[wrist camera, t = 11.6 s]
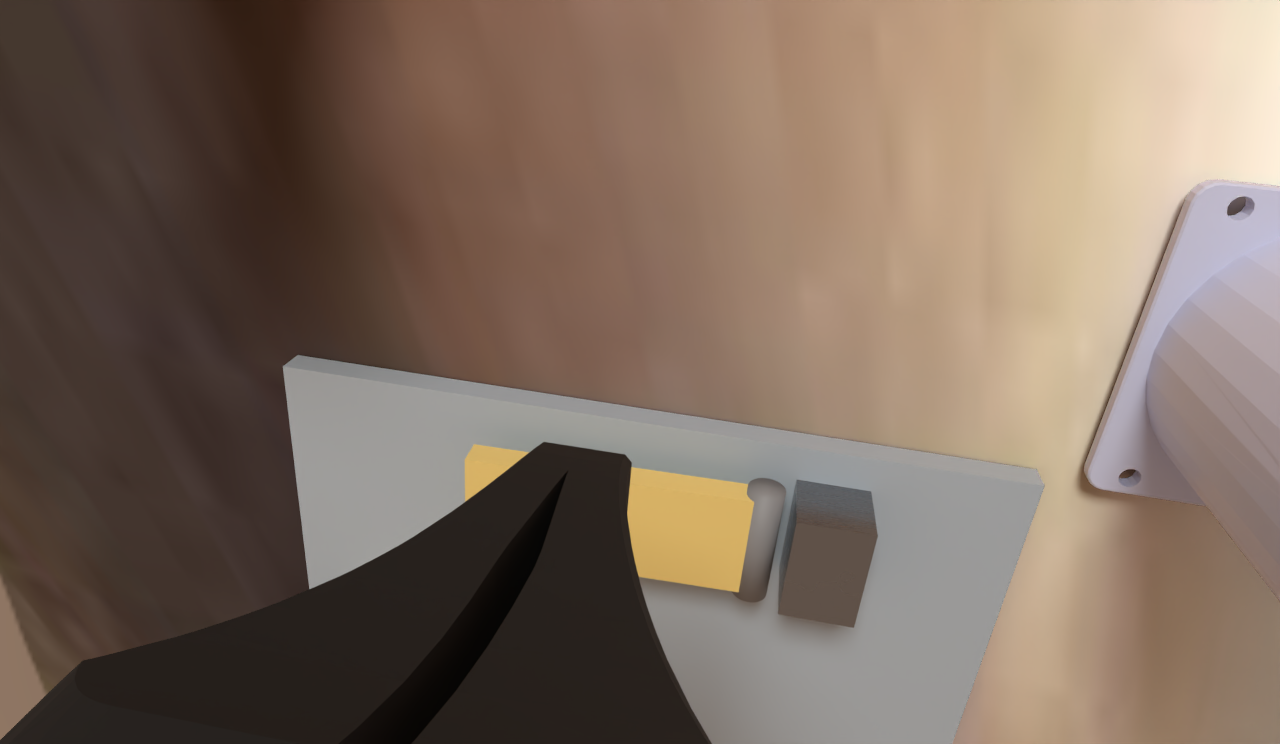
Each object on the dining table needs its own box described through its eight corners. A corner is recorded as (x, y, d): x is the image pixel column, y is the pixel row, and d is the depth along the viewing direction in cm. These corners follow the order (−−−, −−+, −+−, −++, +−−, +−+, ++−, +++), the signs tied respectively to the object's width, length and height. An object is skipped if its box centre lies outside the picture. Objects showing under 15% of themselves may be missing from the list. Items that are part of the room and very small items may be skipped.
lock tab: (785, 480, 22) (786, 502, 21) (766, 580, 24) (766, 605, 23) (475, 436, 23) (463, 455, 22) (475, 536, 24) (464, 557, 23)
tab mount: (871, 491, 22) (877, 536, 21) (849, 578, 24) (854, 627, 22) (796, 479, 23) (796, 522, 21) (779, 566, 24) (777, 614, 22)
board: (1036, 469, 22) (1044, 485, 21) (896, 870, 30) (898, 891, 29) (297, 355, 25) (283, 366, 24) (341, 752, 32) (331, 770, 31)
